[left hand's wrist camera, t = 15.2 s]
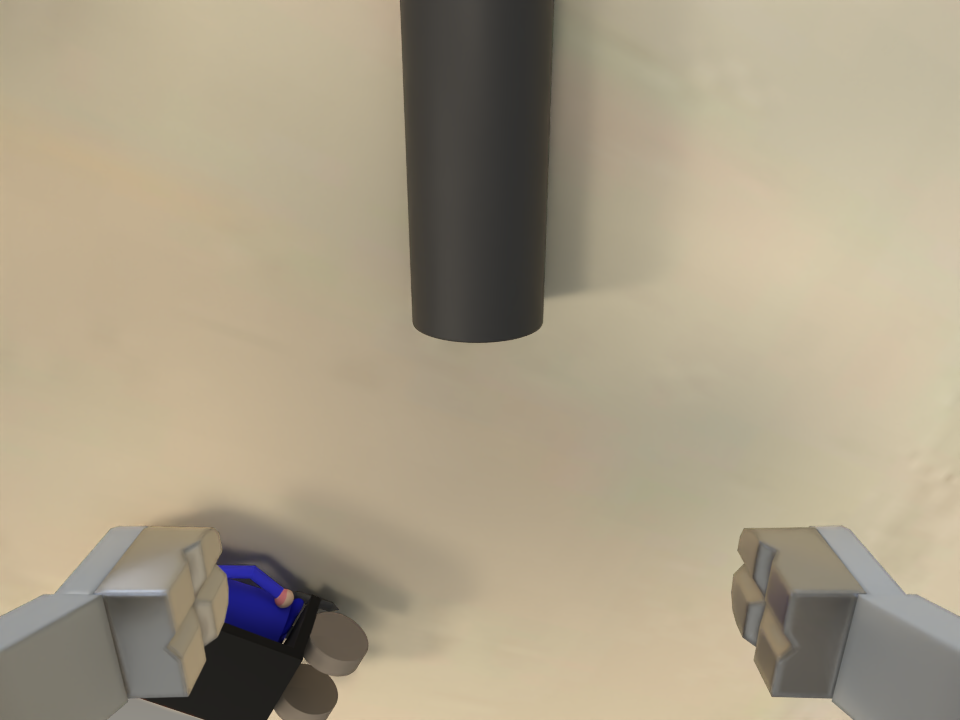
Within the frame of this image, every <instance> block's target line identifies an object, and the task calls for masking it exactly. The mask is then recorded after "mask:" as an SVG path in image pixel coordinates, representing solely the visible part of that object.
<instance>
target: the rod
mask: <svg viewBox="0 0 960 720" xmlns="http://www.w3.org/2000/svg"><path fill="white" fill-rule="evenodd" d="M400 10H401V36H402V61H403V87H404V113H405V138H406V164H407V190H408V215H409V241H410V267H411V292H412V318H413V325H414V327H415V328H416V329H417V330H418V331H420V332H421V333H423V334H426V335H428V336H431V337H434V338H438V339H442V340H448V341H455V342H467V343H488V342H500V341H507V340H513V339H517V338H521V337H524V336H527V335H530V334H532V333H534V332H536V331H537V330H538V329H540V327H541V326H542V324H543V307H544V278H545V249H546V219H547V190H548V160H549V131H550V102H551V72H552V43H553V13H554V0H400Z"/></svg>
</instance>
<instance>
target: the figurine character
mask: <svg viewBox="0 0 960 720" xmlns="http://www.w3.org/2000/svg"><path fill="white" fill-rule="evenodd" d="M218 566H219V567H220V568H221V569H222V570H223V571H224V572H225V573H226V574H227V581H228V587H229V595H228V607H227V612H226V617H225V621H224V624H223V626H222V628H221V631H220V633H219V635H218V637H217V638H216V639H214V640H213V641H212V642H210V643H209V644H207V645H206V646H205V647H204V650H205V656H206V662H205V664H204V666H203V668H202V670H201V672H200V674H199V676H198V678H197V680H196V682H195V684H194V686H193V688H192V690H191V692H190V694H189V696H188V697H162V698H141V699H144V700H147V701H150V702H153V703H156V704H159V705H162V706H165V707H168V708H171V709H174V710H177V711H180V712H183V713H186V714H189V715H192V716H195V717H198V718H201V719H204V720H267V719H268V717H269V716H270V714H271V712H272V711H273V709H274V710H275V712H276V713H277V714H278V716H279V717H280V718H281V719H283V720H326V719H327V717H328V716H329V714H330V713H331V711H332V710H333V708H334V706H335V705H336V703H337V699H338V692H337V688H336V685H335V683H334V682H333V680H332V679H331V678H330V677H329V675H331V676H346V675H349V674H351V673H352V672H354V671H355V670H356V668H357V667H358V665H359V664H360V662H361V661H362V659H363V657H364V656H365V654H366V652H367V650H368V639H367V636H366V634H365V633H364V631H363V630H362V628H361V627H360V626H359V625H358V624H357V623H356V622H354V621H353V620H352V619H350V618H348V617H347V616H344V615H342V614H339V613H335V612H322V613H319V614H317V611H318V608H320V609H323V610H326V611H335V610H339V609H338V608H337V607H336V606H335V605H334V604H333V602H329V601H326V600H323V599H321V598H319V597H316V596H314V595H312V596H311V595H308V594H304V593H301V592H298V591H297V592H292V591H291V590H289V589H284V588H283V587H281V586H280V585H279V584H278V583H276V582H275V581H274V580H273V579H271V578H270V577H269V576H268V575H266V574H265V573H264V572H263V571H261V570H260V569H259V568H258V567H256V566H255V565H253V566H246V565H218ZM229 578H233V579H251V580H252V581H253V582H255V583H256V584H257V585H259V586H260V587H261V588H262V589H261V588H258V587H255V586H251V585H248V584H245V583H242V582H239V581H236V580H232V579H229ZM303 604H307V605H306V606H305V608H304V610H303V612H302V613H301V615H300V617H299V618H298V620H297V622H296V624H295V625H294V626H292V625H293V623H294V622H295V620H296V618H297V616H298V614H299V612H300V610H301V609H302V607H303ZM316 614H317V615H316ZM285 638H287V639H286V641H285V643H284V644H282V642H283V641H284V639H285ZM303 656H304V658H305V659H306V661H307V662H308V663H309V664H310V665H308V664H301V662H302V660H303Z"/></svg>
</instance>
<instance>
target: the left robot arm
mask: <svg viewBox="0 0 960 720" xmlns="http://www.w3.org/2000/svg"><path fill="white" fill-rule="evenodd" d="M222 551H223V550H222V545H221V540H220V535H219V532H218V531H217V530H216V529H215V528H213V527H173V526H150V527H148V526H118V527H115V528H112V529H110V530H109V531H108V532H107V533H106V535H105V536H104V537H103V538H102V539H101V540H100V542H99V543H98V544H97V545H96V546H95V547H94V548H93V550H92V551H91V552H90V553H89V554H88V555H87V557H86V558H85V559H84V560H83V561H82V562H81V563H80V565H79V566H78V567H77V568H76V569H75V570H74V572H73V573H72V574H71V575H70V576H69V577H68V578H67V580H66V581H65V582H64V583H63V584H62V585H61V587H60V588H59V589H58V590H57V591H56V592H55V594H51V595H41V596H39V597H37V598H35V599H33V600H31V601H30V602H28V603H26V604H24V605H22V606H20V607H18V608H16V609H14V610H12V611H10V612H8V613H6V614H4V615H2V616H0V720H107V719H108V718H110V717H111V716H112V715H113V714H114V713H115V712H117V711H118V710H119V709H120V708H121V707H122V706H124V705H125V704H126V703H127V702H128V699H127V698H162V697H188V696H189V694H190V692H191V690H192V688H193V686H194V684H195V682H196V680H197V678H198V676H199V674H200V672H201V670H202V668H203V666H204V664H205V662H206V656H205V650H204V647H205V646H206V645H207V644H209V643H210V642H212V641H213V640H214V639H216V638H217V637H218V635H219V633H220V631H221V628H222V626H223V624H224V621H225V617H226V612H227V607H228V595H229V587H228V581H227V574H226V573H225V572H224V571H223V570H222V569H221V568H220V567H219V566H218V565H217V564H216V562H217V560H218V558H219V556H220V554H221V553H222ZM737 551H738V553H739V554H740V556H741V558H742V560H743V562H744V564H743V565H742V566H741V567H740V568H739V569H738V570H737V571H736V572H735V573H734V574H733V582H732V590H731V597H732V609H733V614H734V617H735V621H736V624H737V626H738V629H739V631H740V633H741V635H742V637H743V638H744V639H746V640H747V641H748V642H750V643H751V644H753V645H754V646H755V647H756V650H755V656H754V662H755V664H756V666H757V668H758V670H759V672H760V674H761V676H762V678H763V680H764V682H765V684H766V686H767V688H768V690H769V692H770V694H771V696H772V697H797V698H832V702H833V703H834V704H836V705H837V706H838V707H839V708H840V709H841V710H843V711H844V712H845V713H846V714H847V715H848V716H850V717H851V718H852V719H853V720H960V616H958V615H956V614H954V613H952V612H950V611H948V610H946V609H944V608H942V607H940V606H938V605H936V604H934V603H932V602H930V601H929V600H927V599H925V598H923V597H921V596H919V595H909V594H905V592H904V591H903V590H902V589H901V588H900V587H899V585H898V584H897V583H896V582H895V581H894V580H893V579H892V577H891V576H890V575H889V574H888V573H887V572H886V570H885V569H884V568H883V567H882V566H881V565H880V564H879V562H878V561H877V560H876V559H875V558H874V557H873V555H872V554H871V553H870V552H869V551H868V550H867V548H866V547H865V546H864V545H863V544H862V543H861V542H860V540H859V539H858V538H857V537H856V536H855V535H854V533H853V532H852V531H851V530H850V529H848V528H846V527H844V526H842V525H841V526H810V527H794V528H744V529H743V531H742V533H741V535H740V539H739V544H738V550H737Z"/></svg>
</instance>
